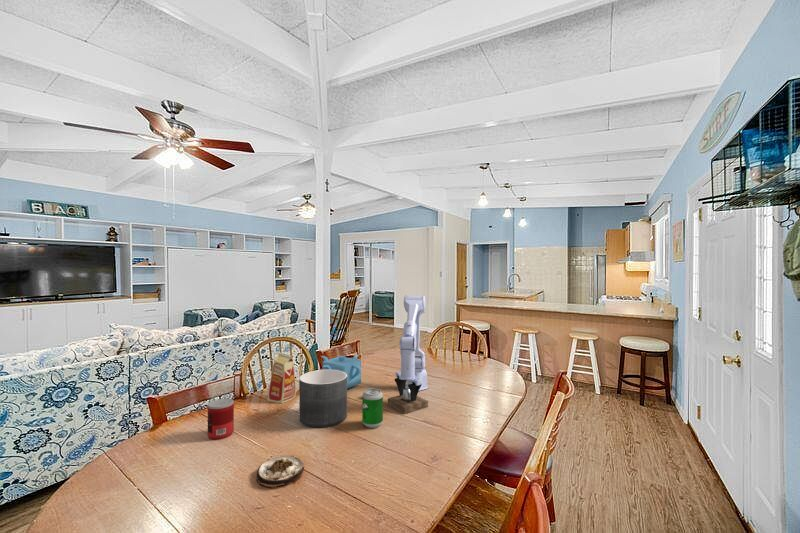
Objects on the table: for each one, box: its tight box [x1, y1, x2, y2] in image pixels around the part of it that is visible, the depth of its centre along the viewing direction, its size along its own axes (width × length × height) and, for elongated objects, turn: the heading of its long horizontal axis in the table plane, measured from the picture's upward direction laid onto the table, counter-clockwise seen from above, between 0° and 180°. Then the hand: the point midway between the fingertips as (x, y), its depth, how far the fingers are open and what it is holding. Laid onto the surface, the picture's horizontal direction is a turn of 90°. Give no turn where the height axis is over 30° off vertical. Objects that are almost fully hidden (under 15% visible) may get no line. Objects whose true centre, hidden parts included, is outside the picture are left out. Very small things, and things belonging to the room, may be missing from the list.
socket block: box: [387, 394, 429, 415], centre depth 146 cm, size 12×12×2 cm
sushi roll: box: [256, 454, 305, 489], centre depth 97 cm, size 15×15×4 cm
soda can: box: [361, 388, 384, 429], centre depth 128 cm, size 8×8×12 cm
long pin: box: [403, 388, 411, 403], centre depth 146 cm, size 3×3×7 cm
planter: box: [298, 369, 348, 429], centre depth 134 cm, size 18×18×16 cm
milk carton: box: [266, 351, 297, 404], centre depth 153 cm, size 9×9×20 cm
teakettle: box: [320, 354, 362, 390], centre depth 168 cm, size 19×19×15 cm
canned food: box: [207, 398, 235, 441], centre depth 120 cm, size 8×8×11 cm
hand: (407, 397), depth 146 cm, fingers open, 7 cm apart
